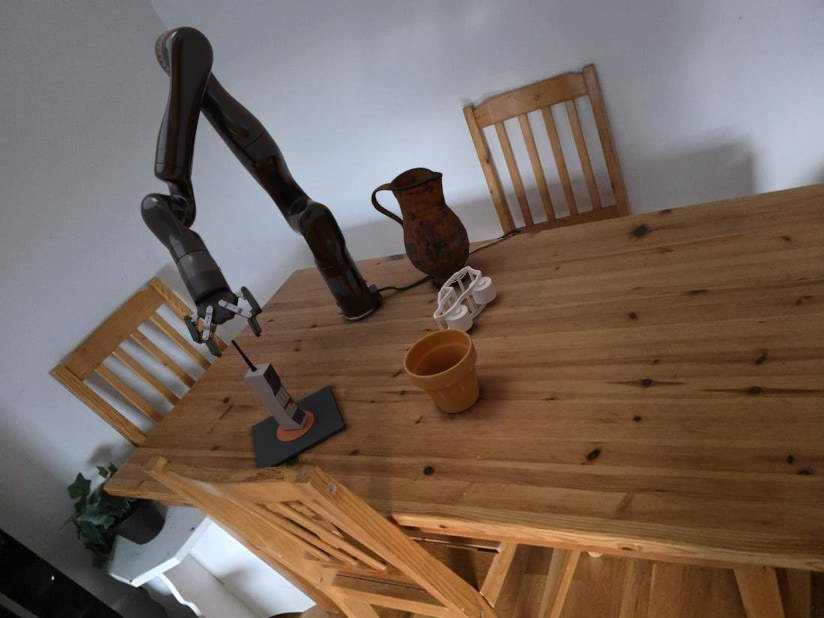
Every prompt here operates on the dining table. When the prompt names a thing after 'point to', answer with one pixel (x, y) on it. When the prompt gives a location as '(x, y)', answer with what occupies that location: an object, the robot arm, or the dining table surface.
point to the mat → (297, 430)
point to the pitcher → (428, 225)
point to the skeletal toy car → (459, 313)
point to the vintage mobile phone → (273, 394)
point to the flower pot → (445, 369)
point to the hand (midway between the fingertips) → (239, 345)
